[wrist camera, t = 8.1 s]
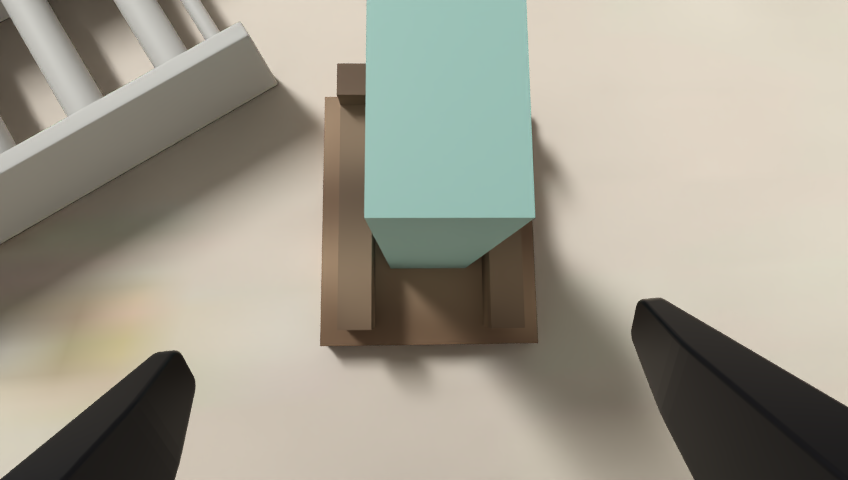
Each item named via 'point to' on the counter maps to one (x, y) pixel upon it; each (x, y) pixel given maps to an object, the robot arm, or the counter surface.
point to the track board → (408, 287)
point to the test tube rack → (118, 104)
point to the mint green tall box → (446, 129)
